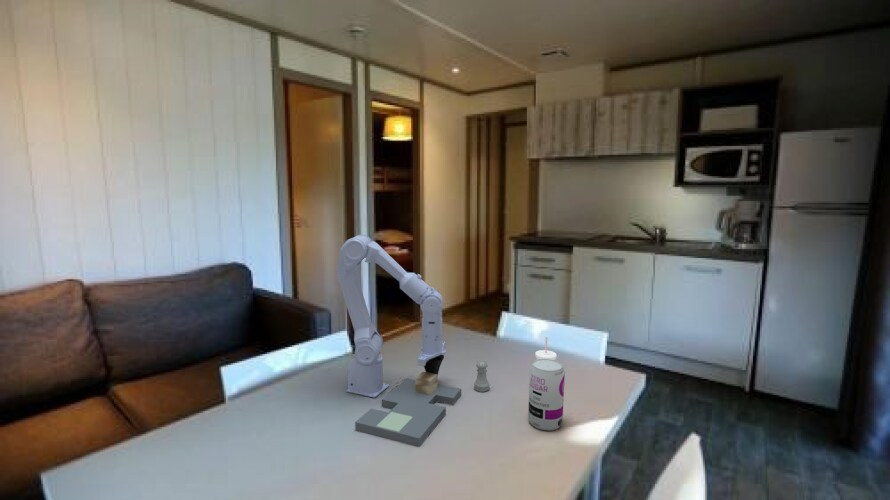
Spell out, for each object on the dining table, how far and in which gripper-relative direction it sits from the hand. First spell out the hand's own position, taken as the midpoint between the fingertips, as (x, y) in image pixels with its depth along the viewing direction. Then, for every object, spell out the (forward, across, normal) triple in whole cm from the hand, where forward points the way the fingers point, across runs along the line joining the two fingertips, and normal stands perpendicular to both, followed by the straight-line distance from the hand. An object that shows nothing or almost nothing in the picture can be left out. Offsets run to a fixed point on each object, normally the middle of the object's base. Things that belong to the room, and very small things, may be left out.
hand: (432, 380), depth 122 cm
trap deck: (+3, -12, 0) cm, 13 cm away
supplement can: (+3, -4, -32) cm, 33 cm away
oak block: (+1, -4, 0) cm, 4 cm away
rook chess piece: (+3, +7, -12) cm, 14 cm away
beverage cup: (+3, +18, -29) cm, 34 cm away
